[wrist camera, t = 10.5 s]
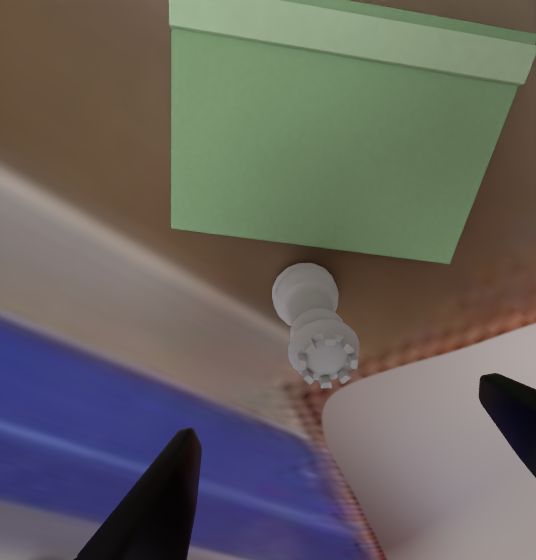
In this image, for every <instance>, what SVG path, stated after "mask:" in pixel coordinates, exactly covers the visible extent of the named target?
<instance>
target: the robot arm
mask: <svg viewBox="0 0 536 560" xmlns="http://www.w3.org/2000/svg"><path fill="white" fill-rule="evenodd" d="M479 399H480V402H481V404H482V405H483V407H484V408H485V410H486V411H487V413H488V414H489V415H490V417H491V418H492V420H493V421H494V423H495V424H496V425H497V427H498V428H499V430H500V431H501V433H502V434H503V435H504V437H505V438H506V440H507V441H508V443H509V444H510V445H511V447H512V448H513V450H514V451H515V452H516V454H517V455H518V456H519V458H520V459H521V460H522V461H523V463H524V464H525V465H526V466H527V468H528V469H529V470H530V471H531V472H532V474H533V475H534V476H535V477H536V389H534V388H531V387H529V386H526V385H524V384H521V383H519V382H517V381H514V380H512V379H510V378H507V377H505V376H502V375H500V374H496V373H493V374H488V375H483V376H481V378H480V385H479ZM201 454H202V449H201V444H200V442H199V440H198V437H197V435H196V433H195V431H194V429H193V428H186V429H181V430H179V431H178V432H177V434H176V435H175V436H174V437H173V438H172V440H171V441H170V442H169V443H168V445H167V446H166V447H165V448H164V449H163V451H162V452H161V453H160V454H159V456H158V457H157V458H156V459H155V461H154V462H153V463H152V464H151V465H150V467H149V468H148V469H147V470H146V472H145V473H144V474H143V475H142V476H141V478H140V479H139V480H138V481H137V483H136V484H135V485H134V486H133V487H132V489H131V490H130V491H129V492H128V494H127V495H126V496H125V497H124V499H123V500H122V501H121V502H120V503H119V505H118V506H117V507H116V508H115V510H114V511H113V512H112V513H111V514H110V516H109V517H108V518H107V519H106V521H105V522H104V523H103V524H102V525H101V527H100V528H99V529H98V530H97V532H96V533H95V534H94V535H93V537H92V538H91V539H90V540H89V541H88V543H87V544H86V545H85V546H84V548H83V549H82V550H81V551H80V552H79V554H78V555H77V558H75V559H74V560H187V555H188V549H189V544H190V539H191V533H192V528H193V523H194V517H195V511H196V504H197V495H198V485H199V474H200V464H201Z"/></svg>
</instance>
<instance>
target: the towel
mask: <svg viewBox="0 0 536 560" xmlns="http://www.w3.org/2000/svg"><path fill="white" fill-rule="evenodd" d="M169 25H170V27H171V228H172V229H179V230H187V231H195V232H203V233H210V234H218V235H226V236H234V237H242V238H249V239H257V240H265V241H273V242H281V243H288V244H296V245H304V246H312V247H320V248H327V249H335V250H343V251H351V252H359V253H366V254H374V255H382V256H390V257H397V258H405V259H413V260H421V261H429V262H436V263H444V264H450V262H451V259H452V256H453V254H454V251H455V249H456V246H457V244H458V241H459V238H460V236H461V233H462V231H463V228H464V225H465V223H466V220H467V218H468V215H469V213H470V210H471V207H472V205H473V202H474V200H475V197H476V195H477V192H478V189H479V187H480V184H481V182H482V179H483V177H484V174H485V171H486V169H487V166H488V164H489V161H490V158H491V156H492V153H493V151H494V148H495V146H496V143H497V140H498V138H499V135H500V133H501V130H502V128H503V125H504V122H505V120H506V117H507V115H508V112H509V110H510V107H511V104H512V102H513V99H514V97H515V94H516V91H517V89H518V86H520V85H523V84H525V81H526V79H527V76H528V73H529V71H530V68H531V66H532V63H533V61H534V58H535V56H536V45H535V42H536V34H535V33H529V32H524V31H518V30H513V29H507V28H501V27H496V26H490V25H485V24H479V23H473V22H468V21H462V20H457V19H451V18H445V17H440V16H434V15H428V14H423V13H417V12H412V11H406V10H400V9H395V8H389V7H384V6H378V5H372V4H367V3H361V2H356V1H350V0H169Z"/></svg>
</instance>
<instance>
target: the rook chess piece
mask: <svg viewBox="0 0 536 560" xmlns="http://www.w3.org/2000/svg"><path fill="white" fill-rule="evenodd" d="M338 297H339V292H338V289H337V286H336V284H335V281H334V279H333V276H332V275H331V274H330V273H329V272H328V271H327V270H326V269H325V268H323V267H321V266H318V265H316V264H313V263H298V264H296V265H293V266H291V267H288V268H286V269H285V270H284V271H283V272H282V273H281V274H280V275H279V276H278V277H277V279H276V281H275V283H274V285H273V288H272V300H273V302H274V307H275V309H276V311H277V313H278V316H279V317H280V318H281V319H282V320H284V321H285V322H286V323H287V324H288V325H290V326H291V328H290V339H291V341H290V343H289V345H288V358H289V360H290V362H291V364H292V366H293V368H294V369H295V370H297V371H298V372H299V373H300V374H301V375H302V377H303V379H304V380H305V381H306V382H308V383H309V384H310V385H311V384H312V382H313V381H314V379H315V380H318V381H319V384H320V388H332V386H331V381H330V380H333V379H336V378H339V380H340V382H341V383H342V384H344V383H345V382H347V381H348V380H349V379H351V376H350V373H349V369H350V368H352V369H357V365H358V358H357V357H358V353H359V346H360V344H359V341H358V338H357V335H356V333H355V332H354V331H353V330H352V329H351V328H350V327H349V326H348V325H347V324H344V323H343V320H342V319H341V318H340V317H339V316H338V315H337V314H336V313H335V311H336V309H337V307H338Z"/></svg>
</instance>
